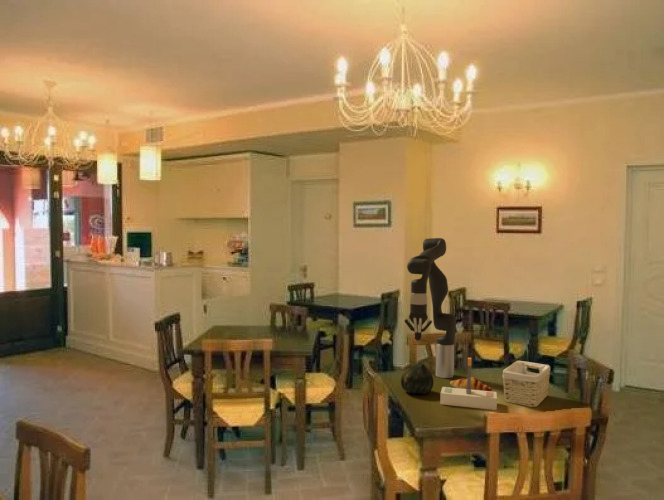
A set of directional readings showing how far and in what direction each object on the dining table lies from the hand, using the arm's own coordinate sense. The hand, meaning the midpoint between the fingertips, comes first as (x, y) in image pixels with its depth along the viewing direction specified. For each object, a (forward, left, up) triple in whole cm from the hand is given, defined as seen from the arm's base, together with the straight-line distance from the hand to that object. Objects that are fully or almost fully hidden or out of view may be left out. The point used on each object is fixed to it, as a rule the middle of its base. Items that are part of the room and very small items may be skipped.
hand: (417, 340), depth 249 cm
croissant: (-22, +23, -28) cm, 42 cm away
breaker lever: (-1, +23, -22) cm, 31 cm away
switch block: (-5, +23, -27) cm, 36 cm away
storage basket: (-16, +48, -27) cm, 58 cm away
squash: (-10, -1, -27) cm, 29 cm away
